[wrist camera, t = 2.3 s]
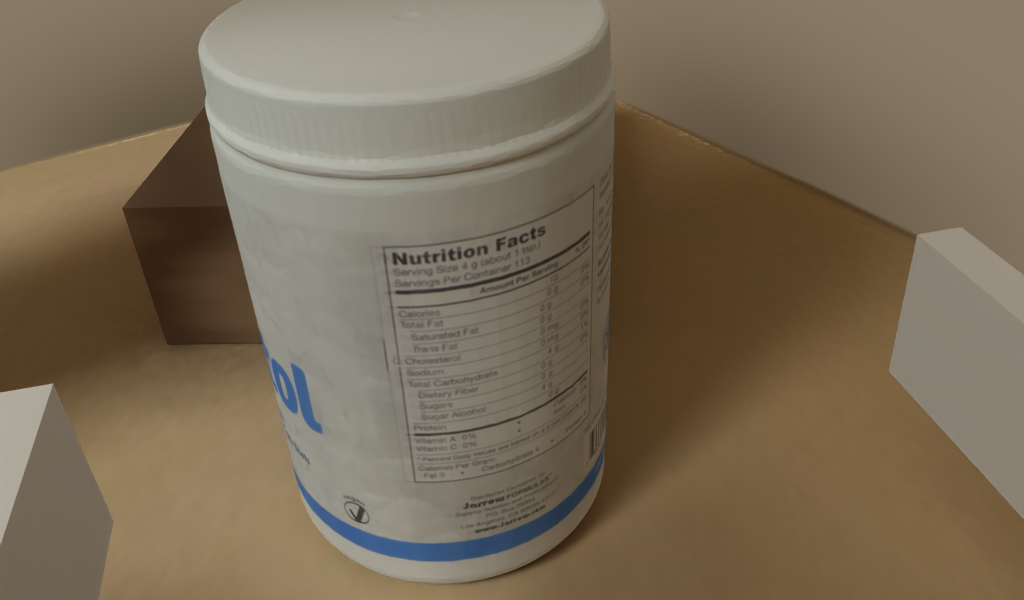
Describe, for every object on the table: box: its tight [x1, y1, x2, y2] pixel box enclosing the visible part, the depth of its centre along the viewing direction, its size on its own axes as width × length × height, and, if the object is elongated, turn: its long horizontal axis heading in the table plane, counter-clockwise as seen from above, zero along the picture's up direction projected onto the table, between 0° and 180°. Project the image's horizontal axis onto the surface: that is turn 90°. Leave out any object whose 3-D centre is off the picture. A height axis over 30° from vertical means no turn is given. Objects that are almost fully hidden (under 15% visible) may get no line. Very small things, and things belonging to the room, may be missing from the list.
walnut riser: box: [122, 107, 262, 344], centre depth 40 cm, size 16×16×6 cm
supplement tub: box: [198, 0, 615, 584], centre depth 25 cm, size 10×10×15 cm
